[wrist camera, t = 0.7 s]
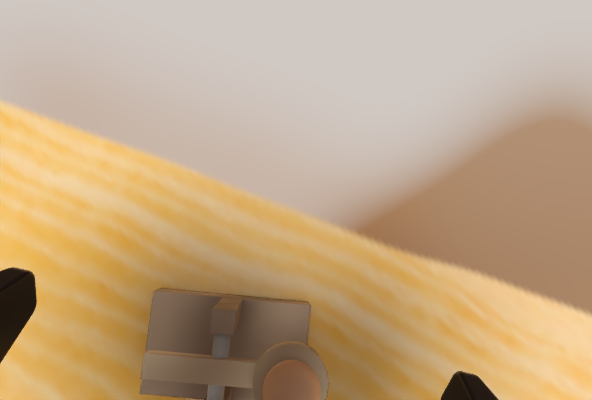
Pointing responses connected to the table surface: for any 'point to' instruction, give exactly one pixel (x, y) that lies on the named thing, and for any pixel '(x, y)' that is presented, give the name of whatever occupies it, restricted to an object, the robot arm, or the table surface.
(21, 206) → the table surface
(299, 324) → the catapult
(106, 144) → the table surface
